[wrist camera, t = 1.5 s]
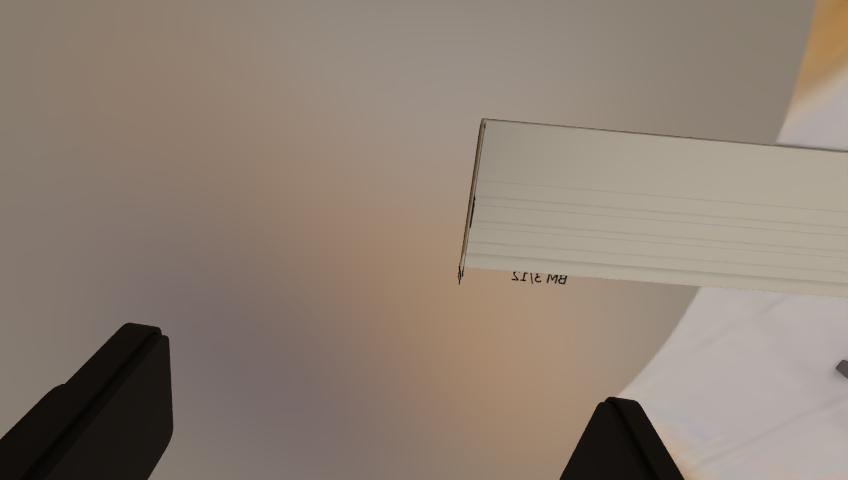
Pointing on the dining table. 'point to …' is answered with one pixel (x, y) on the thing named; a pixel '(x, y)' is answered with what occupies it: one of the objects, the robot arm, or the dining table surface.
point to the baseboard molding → (657, 209)
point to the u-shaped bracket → (843, 368)
